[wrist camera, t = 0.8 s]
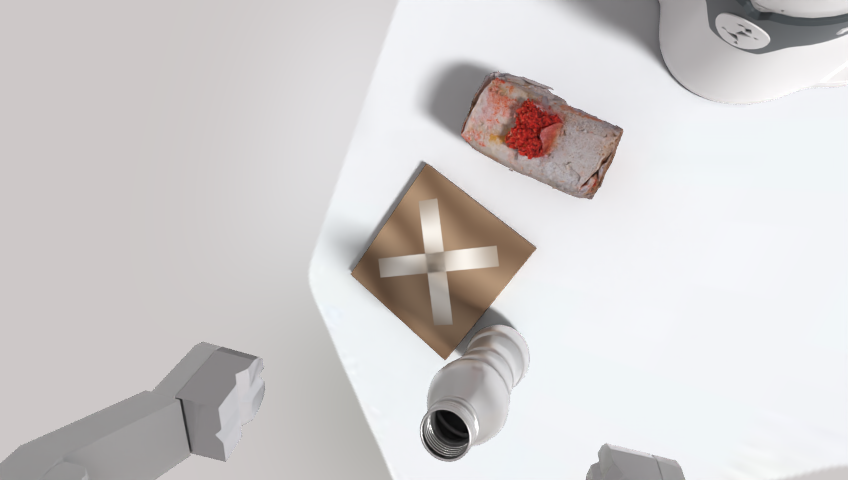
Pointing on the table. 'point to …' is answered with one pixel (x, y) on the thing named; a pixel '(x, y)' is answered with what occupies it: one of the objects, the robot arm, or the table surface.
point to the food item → (540, 134)
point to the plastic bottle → (474, 393)
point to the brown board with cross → (441, 261)
